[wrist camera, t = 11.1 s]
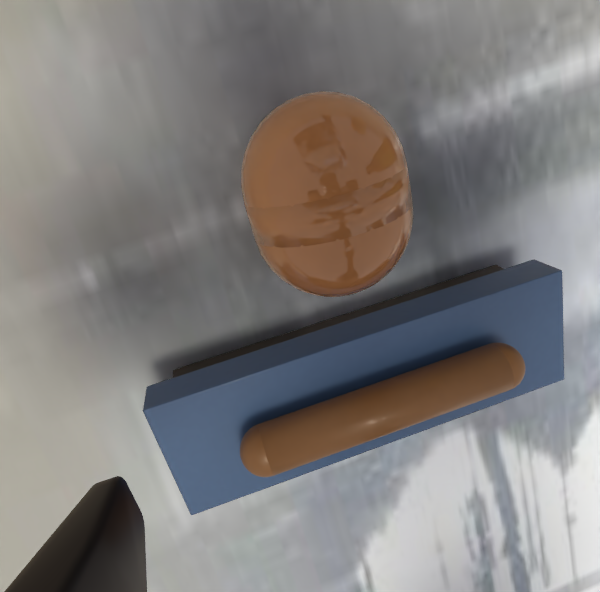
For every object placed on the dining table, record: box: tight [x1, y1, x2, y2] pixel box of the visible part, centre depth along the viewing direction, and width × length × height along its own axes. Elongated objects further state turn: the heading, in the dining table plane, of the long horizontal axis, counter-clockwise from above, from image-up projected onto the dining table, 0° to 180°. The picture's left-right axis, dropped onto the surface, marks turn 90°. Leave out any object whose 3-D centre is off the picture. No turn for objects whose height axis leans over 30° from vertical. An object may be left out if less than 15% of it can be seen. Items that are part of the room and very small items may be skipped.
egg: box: [241, 91, 413, 297], centre depth 15 cm, size 5×6×5 cm
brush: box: [143, 260, 564, 515], centre depth 18 cm, size 16×5×5 cm, turn 104°
